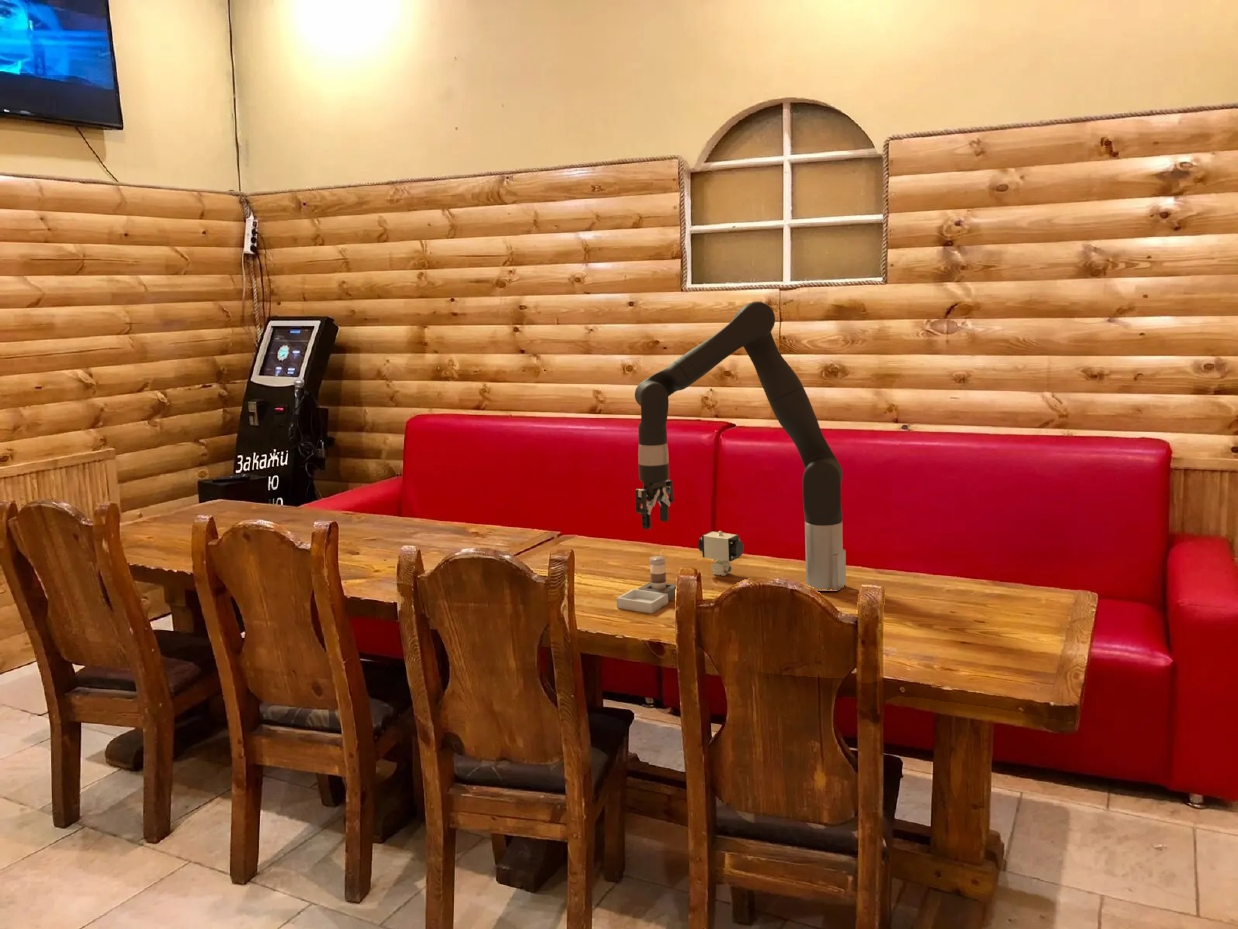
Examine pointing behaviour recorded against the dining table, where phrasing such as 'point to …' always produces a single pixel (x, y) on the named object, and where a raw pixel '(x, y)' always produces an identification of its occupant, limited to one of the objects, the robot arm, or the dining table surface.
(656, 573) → the fuse
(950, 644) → the dining table surface
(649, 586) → the dark gray recessed holder
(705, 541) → the pneumatic valve
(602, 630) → the dining table surface
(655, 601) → the tray
